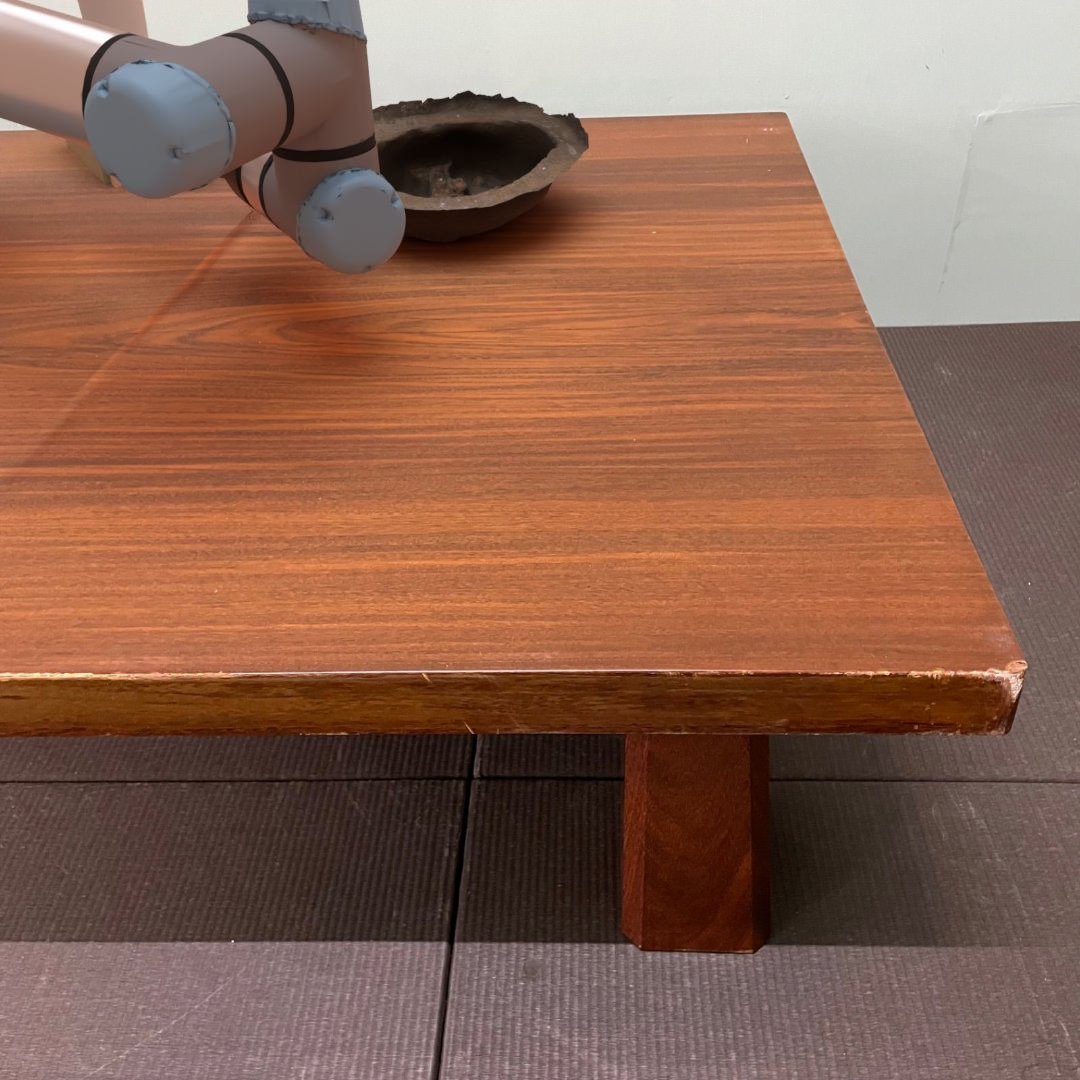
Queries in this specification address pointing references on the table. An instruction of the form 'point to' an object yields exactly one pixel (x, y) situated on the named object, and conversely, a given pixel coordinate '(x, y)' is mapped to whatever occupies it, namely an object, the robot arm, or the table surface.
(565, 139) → the stone bowl
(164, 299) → the table surface
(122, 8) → the drinking glass
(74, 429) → the table surface
